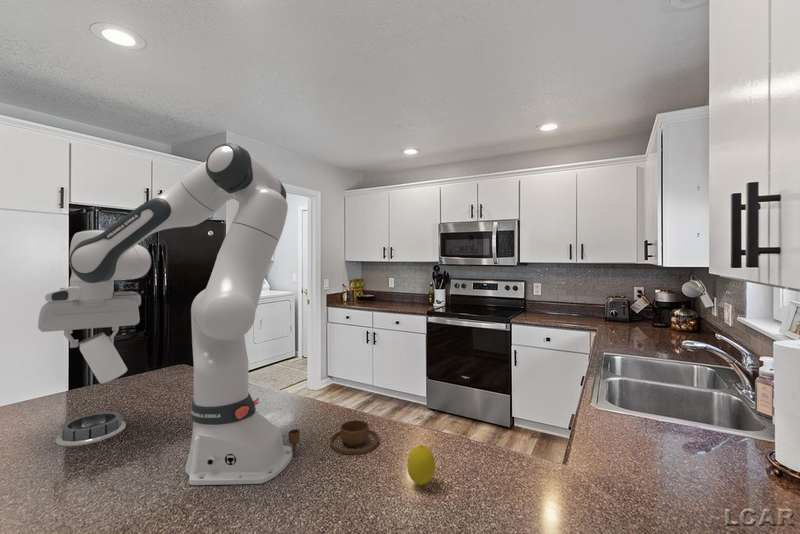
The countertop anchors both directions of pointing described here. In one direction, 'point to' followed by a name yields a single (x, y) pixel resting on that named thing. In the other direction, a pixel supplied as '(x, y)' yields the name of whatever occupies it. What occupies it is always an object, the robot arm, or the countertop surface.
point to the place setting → (344, 437)
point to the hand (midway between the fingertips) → (92, 345)
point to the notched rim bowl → (90, 429)
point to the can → (102, 358)
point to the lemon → (421, 465)
